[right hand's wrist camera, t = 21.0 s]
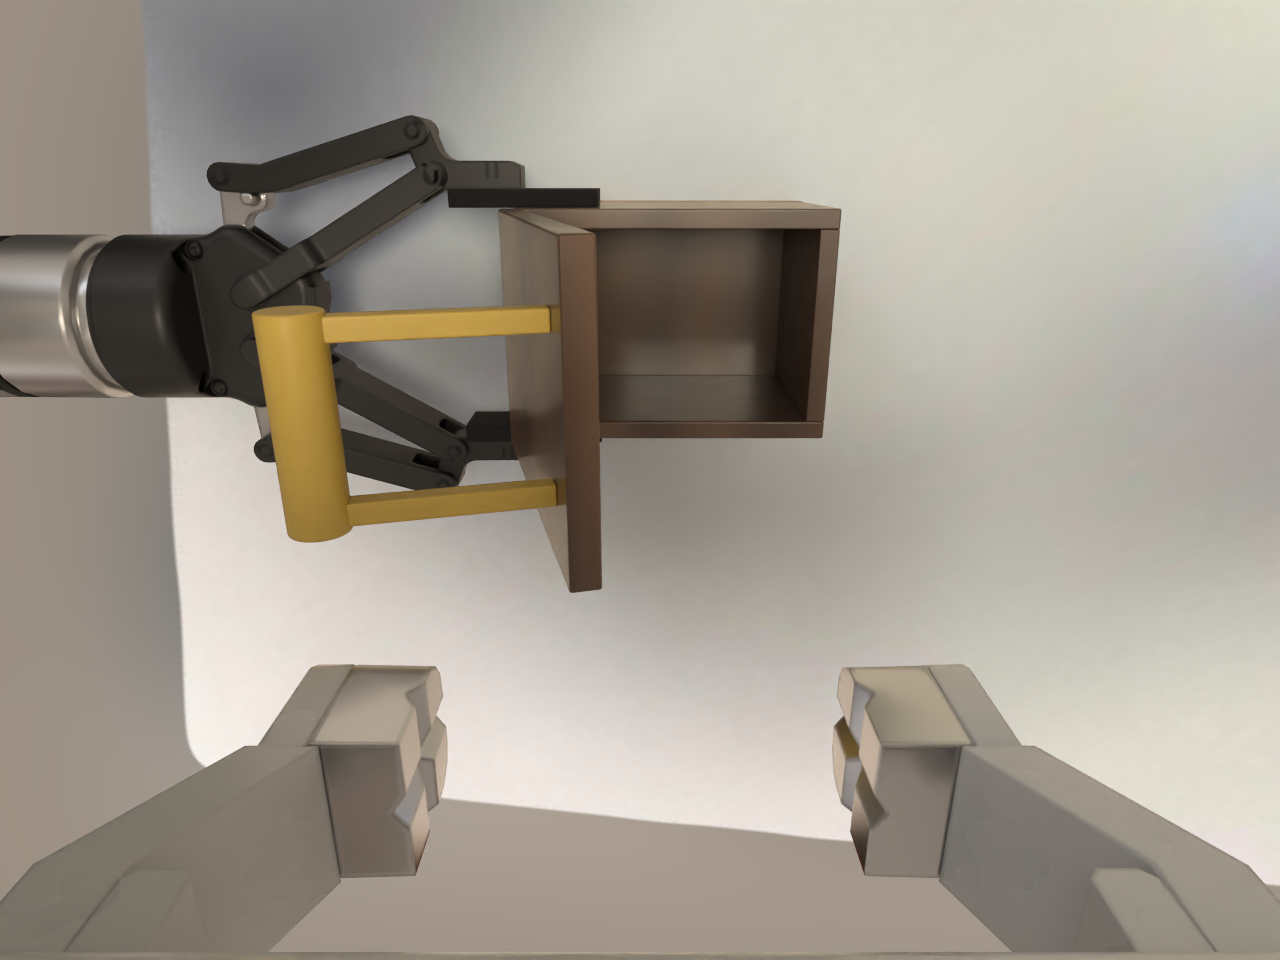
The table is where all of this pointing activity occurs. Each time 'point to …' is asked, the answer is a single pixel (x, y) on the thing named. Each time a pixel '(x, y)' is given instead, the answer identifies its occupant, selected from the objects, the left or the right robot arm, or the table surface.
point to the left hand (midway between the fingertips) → (600, 317)
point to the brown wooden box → (711, 315)
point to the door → (538, 399)
